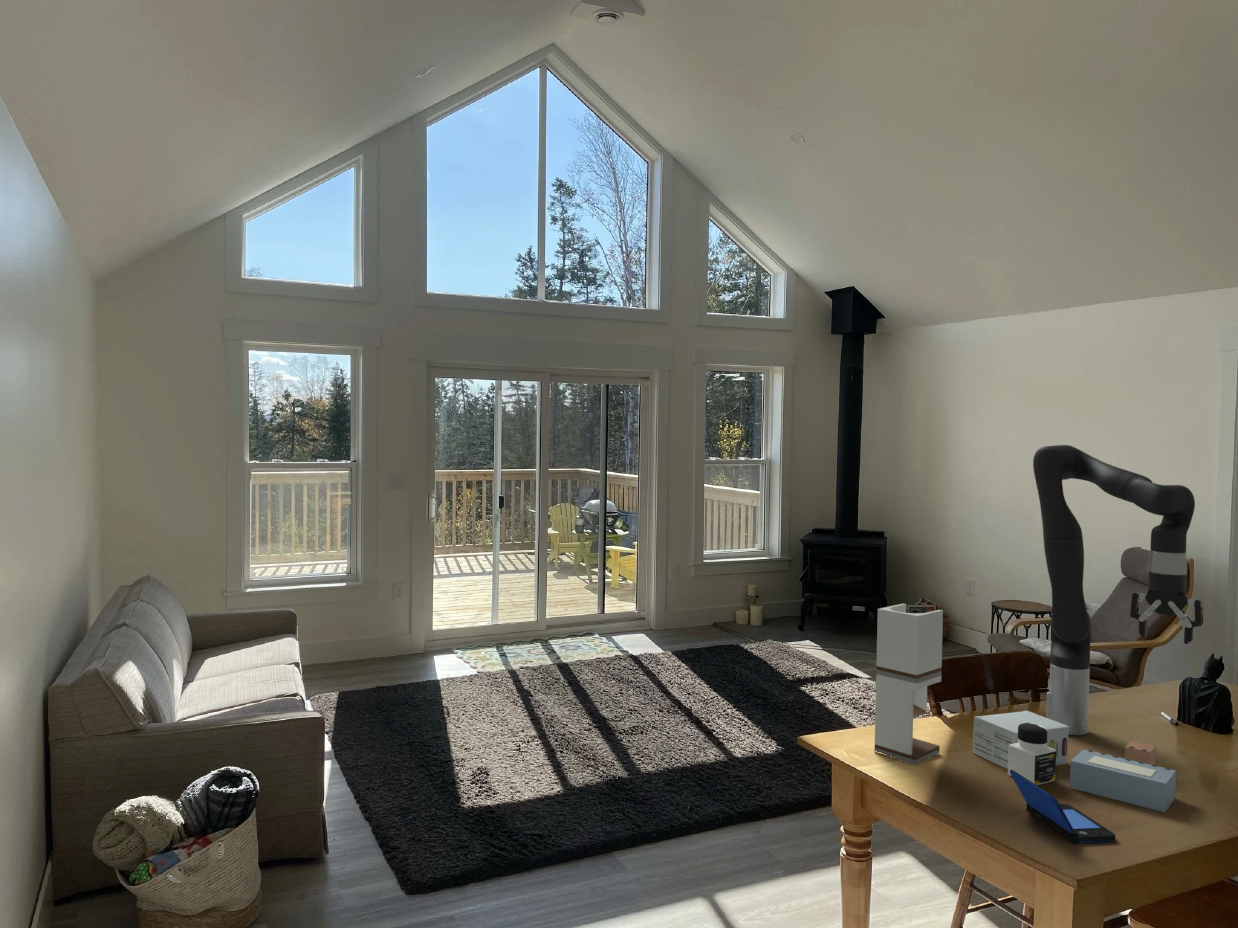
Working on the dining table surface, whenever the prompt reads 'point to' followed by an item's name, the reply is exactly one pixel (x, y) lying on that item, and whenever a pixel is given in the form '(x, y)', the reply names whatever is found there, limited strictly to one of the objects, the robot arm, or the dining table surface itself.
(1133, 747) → the stub
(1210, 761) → the dining table surface
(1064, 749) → the supplement box
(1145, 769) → the block
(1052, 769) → the medicine bottle
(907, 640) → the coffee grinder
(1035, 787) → the handheld game console
